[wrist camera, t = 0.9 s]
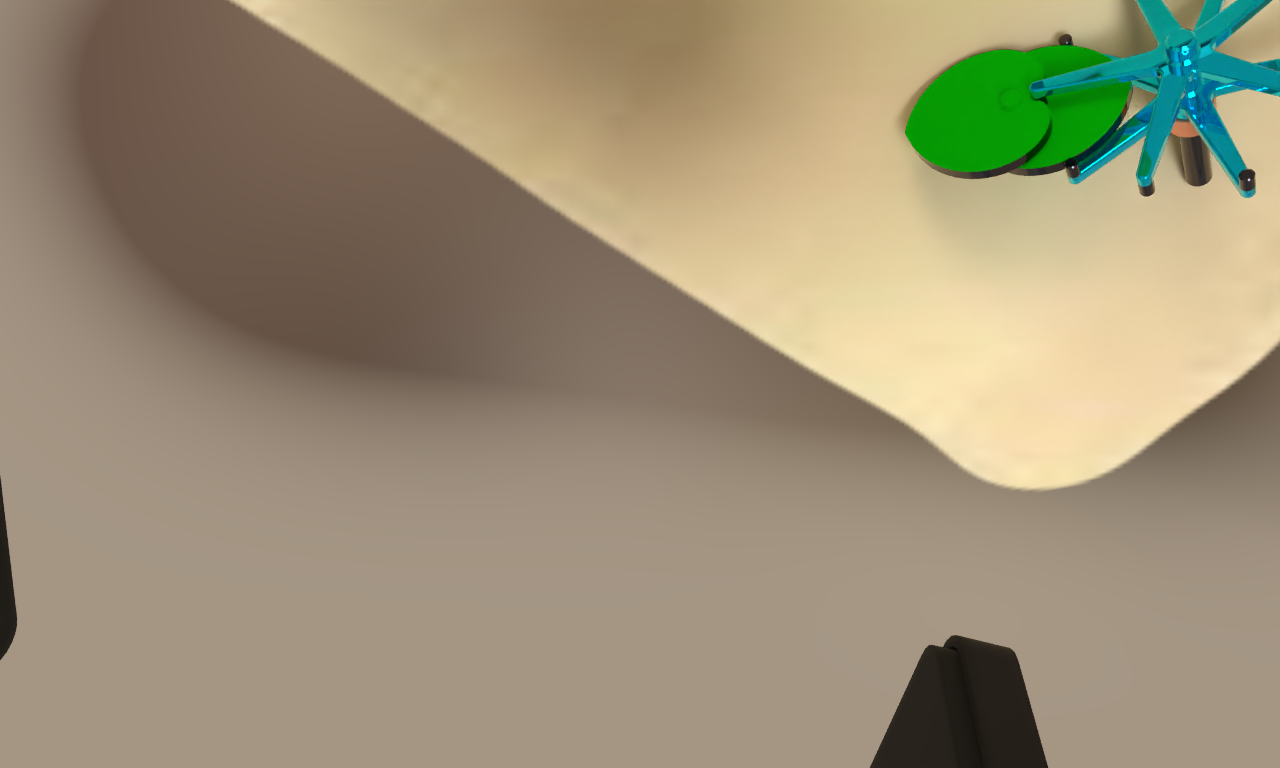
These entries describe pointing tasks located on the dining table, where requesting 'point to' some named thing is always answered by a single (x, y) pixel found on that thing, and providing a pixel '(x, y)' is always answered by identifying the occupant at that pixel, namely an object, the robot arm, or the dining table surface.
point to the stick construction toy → (1094, 104)
